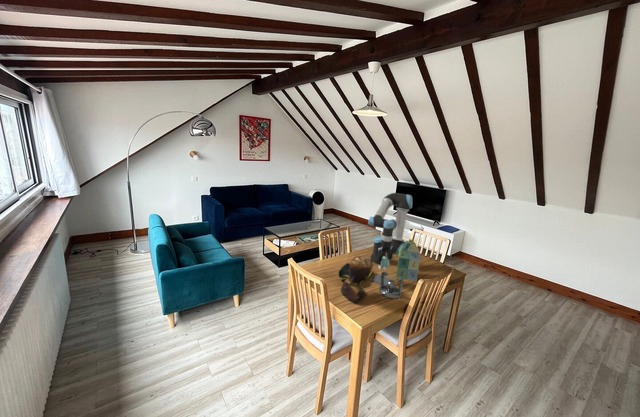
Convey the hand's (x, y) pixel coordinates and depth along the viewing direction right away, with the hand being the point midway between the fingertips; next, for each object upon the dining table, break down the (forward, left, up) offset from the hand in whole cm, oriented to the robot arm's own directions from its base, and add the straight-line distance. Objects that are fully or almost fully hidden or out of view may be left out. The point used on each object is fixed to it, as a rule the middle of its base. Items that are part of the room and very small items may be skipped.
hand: (383, 267), depth 218 cm
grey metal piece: (+13, -12, -11) cm, 21 cm away
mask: (-20, -9, -12) cm, 25 cm away
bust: (-6, -31, -12) cm, 34 cm away
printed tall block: (+11, +23, -12) cm, 28 cm away
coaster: (0, 0, -11) cm, 11 cm away
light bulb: (0, 0, +1) cm, 1 cm away
